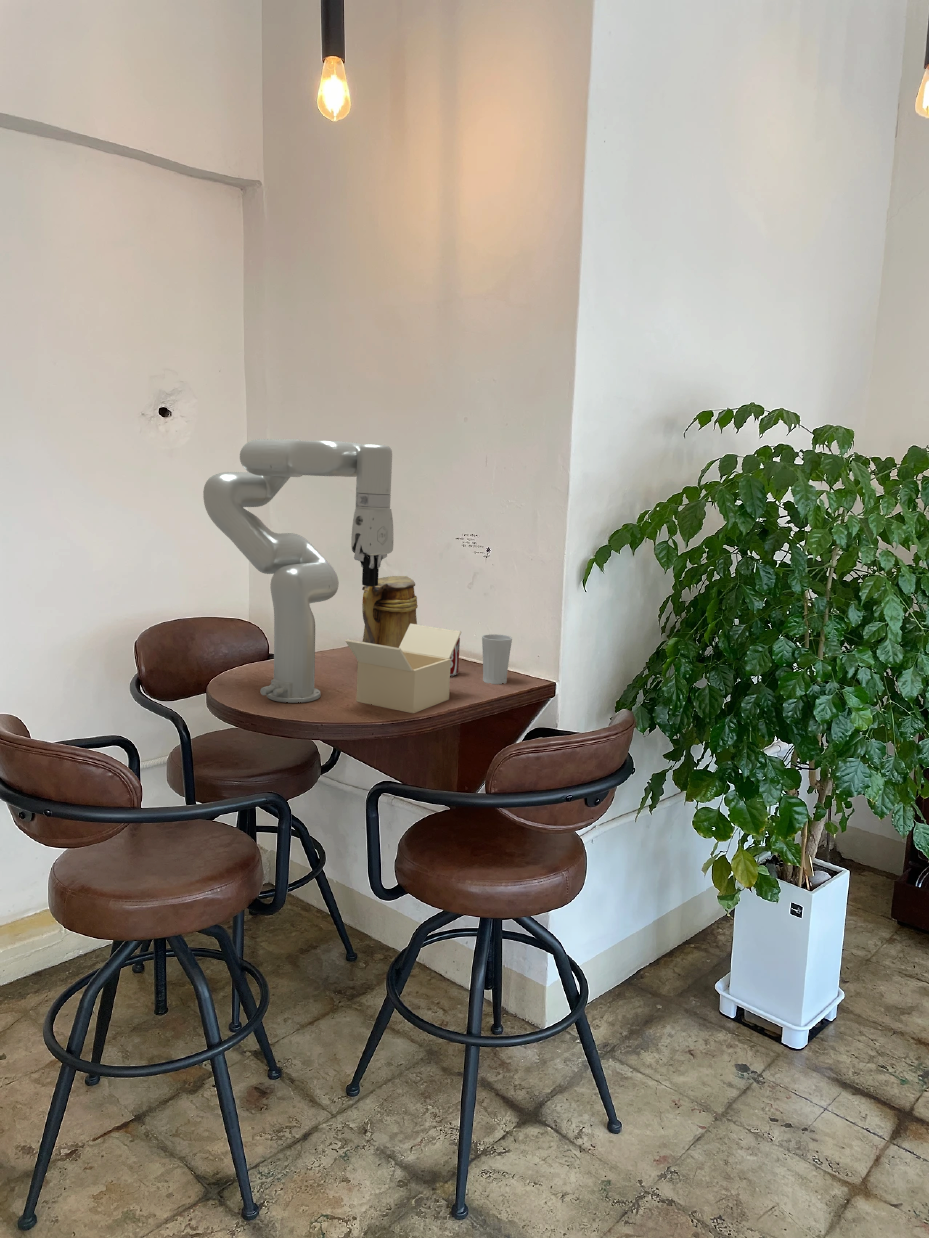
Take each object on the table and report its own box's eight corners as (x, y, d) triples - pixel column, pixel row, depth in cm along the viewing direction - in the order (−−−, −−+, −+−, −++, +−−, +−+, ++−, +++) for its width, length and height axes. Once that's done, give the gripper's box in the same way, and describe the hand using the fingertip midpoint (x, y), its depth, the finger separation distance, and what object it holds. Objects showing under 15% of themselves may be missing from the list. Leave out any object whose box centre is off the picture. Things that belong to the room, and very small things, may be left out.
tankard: (433, 664, 256) (437, 577, 251) (393, 680, 235) (397, 586, 230) (378, 656, 263) (381, 571, 259) (334, 671, 242) (337, 579, 238)
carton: (413, 713, 205) (415, 670, 203) (356, 701, 212) (357, 660, 211) (448, 699, 218) (450, 659, 217) (394, 688, 226) (395, 649, 224)
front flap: (346, 639, 205) (345, 640, 204) (400, 648, 197) (399, 650, 197) (359, 660, 210) (358, 661, 210) (412, 669, 203) (411, 671, 203)
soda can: (428, 674, 244) (430, 630, 242) (444, 670, 249) (446, 628, 247) (446, 678, 239) (448, 634, 237) (463, 675, 244) (465, 631, 242)
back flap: (460, 631, 220) (461, 632, 221) (410, 623, 228) (411, 624, 228) (448, 658, 217) (449, 659, 217) (397, 649, 224) (398, 650, 224)
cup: (513, 684, 236) (515, 640, 234) (483, 685, 234) (486, 640, 232) (505, 677, 244) (507, 634, 242) (476, 677, 242) (478, 634, 240)
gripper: (366, 503, 187) (363, 590, 190) (406, 502, 200) (403, 584, 203) (337, 501, 190) (335, 586, 194) (379, 500, 203) (376, 580, 206)
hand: (370, 585), depth 198 cm, fingers closed
